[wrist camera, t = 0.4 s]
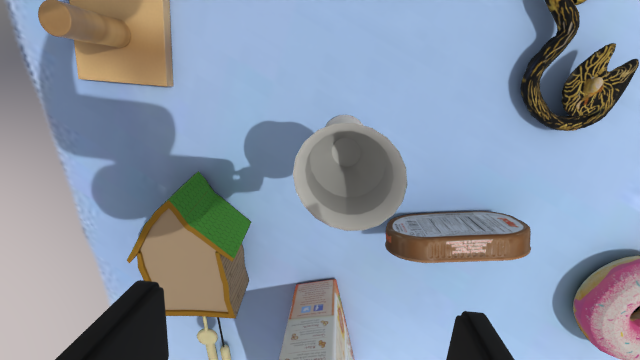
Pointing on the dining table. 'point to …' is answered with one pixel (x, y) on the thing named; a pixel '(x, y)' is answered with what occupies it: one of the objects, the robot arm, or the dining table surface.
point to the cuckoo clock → (196, 257)
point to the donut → (612, 308)
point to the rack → (115, 38)
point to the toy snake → (575, 76)
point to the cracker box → (316, 324)
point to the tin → (457, 237)
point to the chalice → (349, 175)
